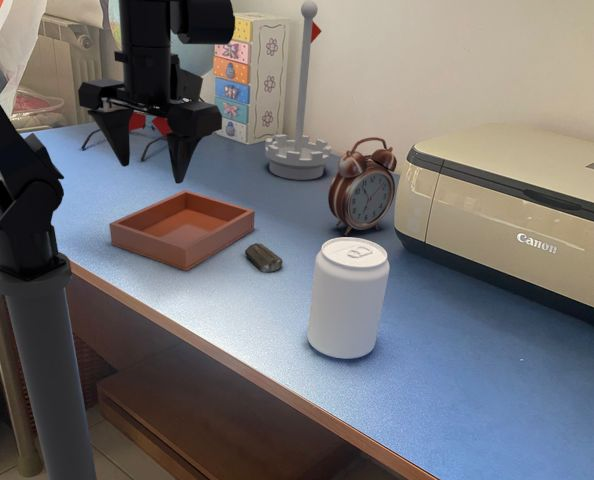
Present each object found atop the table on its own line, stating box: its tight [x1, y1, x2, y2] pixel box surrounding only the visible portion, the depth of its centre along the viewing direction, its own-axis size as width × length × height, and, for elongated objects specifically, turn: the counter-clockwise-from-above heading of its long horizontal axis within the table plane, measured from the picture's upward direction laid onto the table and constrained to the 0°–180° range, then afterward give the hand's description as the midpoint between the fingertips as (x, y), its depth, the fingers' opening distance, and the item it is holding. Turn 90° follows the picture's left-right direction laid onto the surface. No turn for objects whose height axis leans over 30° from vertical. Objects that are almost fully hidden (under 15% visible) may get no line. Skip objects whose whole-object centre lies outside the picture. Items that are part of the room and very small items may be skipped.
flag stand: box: [264, 0, 332, 181], centre depth 111 cm, size 13×13×30 cm
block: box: [244, 242, 284, 273], centre depth 85 cm, size 4×6×2 cm, turn 38°
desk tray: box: [108, 189, 256, 272], centre depth 89 cm, size 18×14×3 cm
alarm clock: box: [327, 136, 398, 236], centre depth 93 cm, size 11×5×15 cm, turn 123°
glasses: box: [81, 111, 172, 162], centre depth 122 cm, size 14×16×5 cm
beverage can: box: [306, 236, 390, 360], centre depth 66 cm, size 8×8×12 cm
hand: (151, 174), depth 78 cm, fingers open, 9 cm apart
